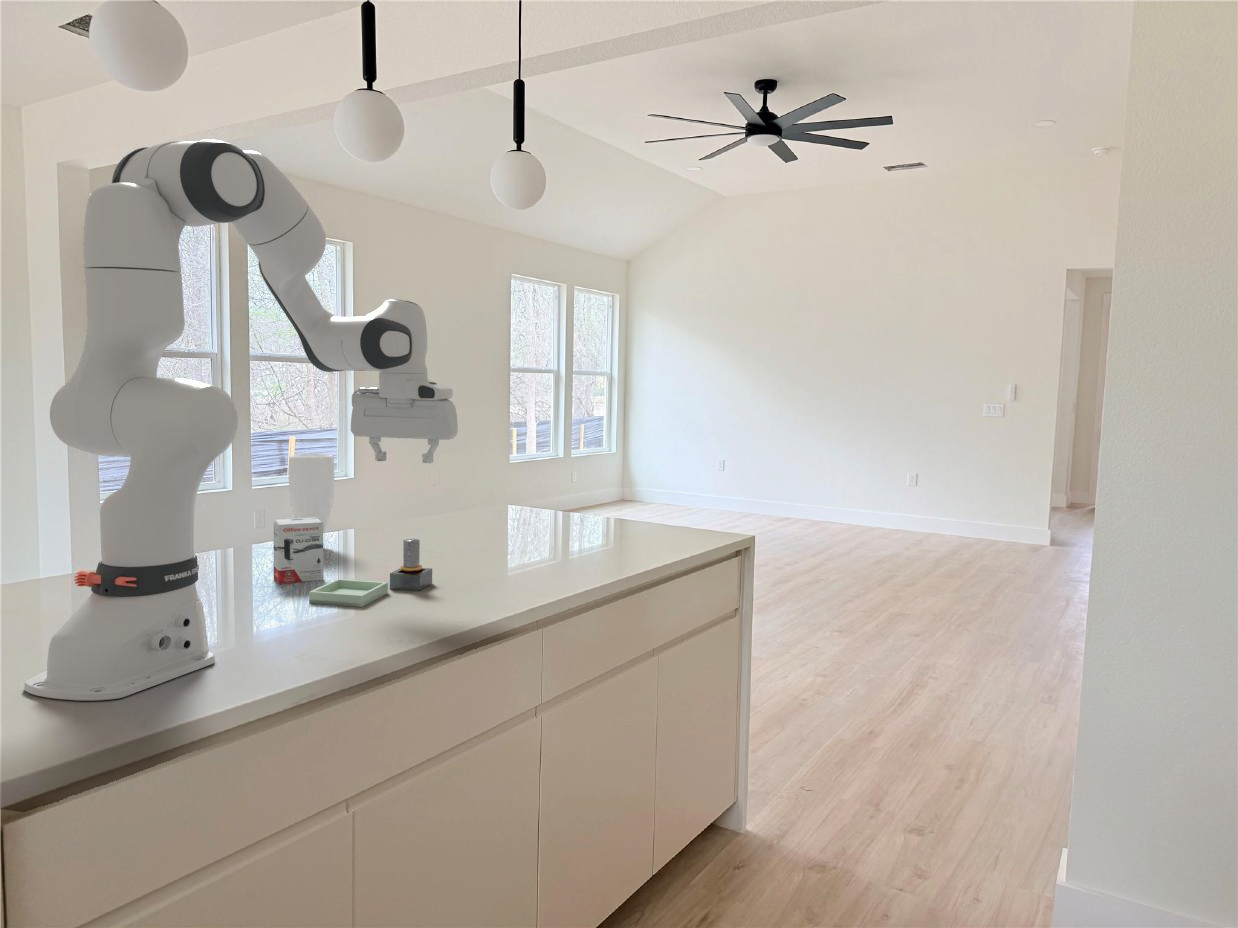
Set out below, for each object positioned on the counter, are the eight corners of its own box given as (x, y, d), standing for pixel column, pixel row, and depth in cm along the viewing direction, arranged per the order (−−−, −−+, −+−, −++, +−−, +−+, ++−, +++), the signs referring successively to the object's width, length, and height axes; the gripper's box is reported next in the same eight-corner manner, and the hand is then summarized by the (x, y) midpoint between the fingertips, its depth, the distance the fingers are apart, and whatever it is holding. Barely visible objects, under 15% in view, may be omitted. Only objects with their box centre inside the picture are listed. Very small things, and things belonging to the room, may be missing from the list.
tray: (362, 606, 143) (362, 595, 143) (309, 602, 145) (309, 591, 144) (387, 592, 153) (387, 582, 152) (337, 589, 154) (337, 578, 154)
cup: (317, 553, 185) (316, 458, 183) (278, 549, 188) (277, 456, 186) (345, 545, 195) (344, 455, 193) (307, 541, 198) (306, 452, 196)
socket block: (419, 590, 155) (419, 575, 154) (389, 588, 156) (389, 573, 155) (432, 583, 161) (432, 568, 160) (403, 581, 162) (403, 566, 161)
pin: (416, 589, 156) (417, 542, 155) (397, 587, 157) (397, 541, 156) (425, 584, 160) (425, 538, 159) (406, 583, 161) (406, 537, 160)
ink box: (278, 584, 157) (277, 523, 156) (273, 579, 161) (272, 519, 160) (324, 579, 161) (324, 520, 160) (318, 574, 165) (318, 516, 164)
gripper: (343, 387, 152) (345, 461, 154) (448, 390, 149) (448, 466, 151) (359, 386, 158) (360, 457, 160) (460, 389, 155) (460, 462, 157)
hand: (404, 461), depth 155 cm, fingers open, 8 cm apart
